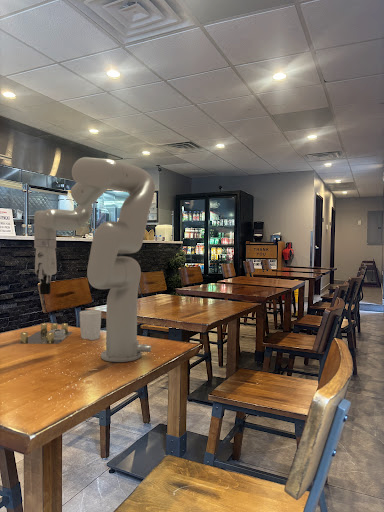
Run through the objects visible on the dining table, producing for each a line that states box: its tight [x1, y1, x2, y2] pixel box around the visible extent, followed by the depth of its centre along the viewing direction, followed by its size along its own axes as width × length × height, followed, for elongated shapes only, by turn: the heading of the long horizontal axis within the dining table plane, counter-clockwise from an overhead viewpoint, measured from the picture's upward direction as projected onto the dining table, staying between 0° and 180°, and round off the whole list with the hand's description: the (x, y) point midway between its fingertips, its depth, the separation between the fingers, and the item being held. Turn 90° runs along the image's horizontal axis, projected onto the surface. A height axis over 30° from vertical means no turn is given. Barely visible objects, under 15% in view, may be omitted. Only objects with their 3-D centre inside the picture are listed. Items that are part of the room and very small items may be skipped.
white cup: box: [79, 309, 102, 341], centre depth 139 cm, size 8×8×10 cm
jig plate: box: [18, 322, 74, 345], centre depth 137 cm, size 14×18×4 cm
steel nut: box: [48, 328, 65, 339], centre depth 137 cm, size 5×6×2 cm
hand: (45, 293), depth 137 cm, fingers closed
